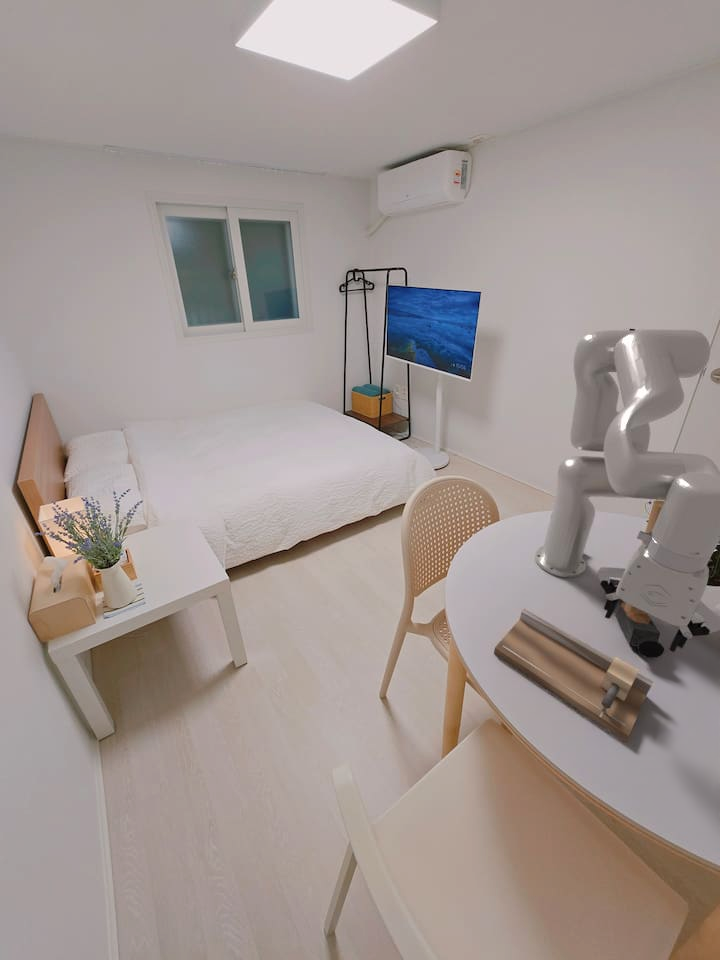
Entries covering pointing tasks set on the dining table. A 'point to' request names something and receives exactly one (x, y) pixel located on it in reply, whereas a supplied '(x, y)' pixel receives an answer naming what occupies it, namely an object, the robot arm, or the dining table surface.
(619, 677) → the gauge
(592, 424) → the robot arm
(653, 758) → the dining table surface
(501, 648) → the board
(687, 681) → the dining table surface
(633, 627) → the hammer
